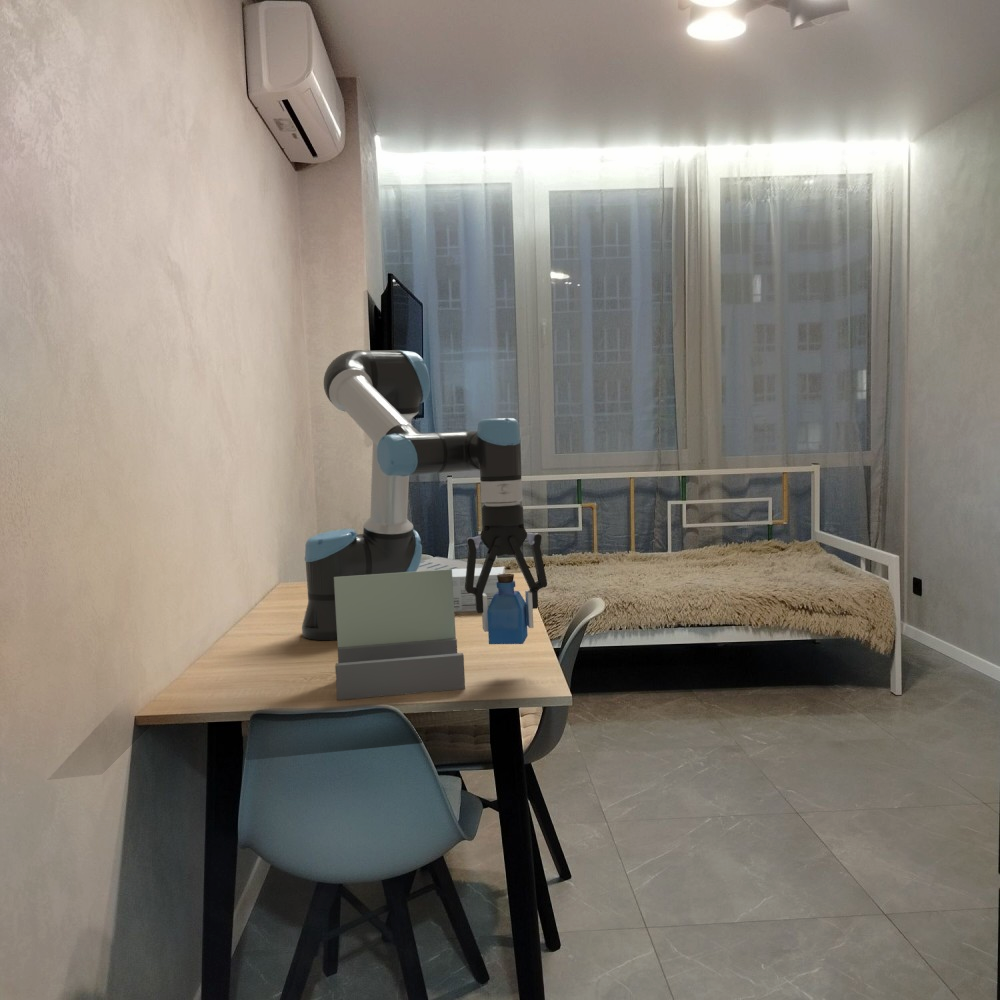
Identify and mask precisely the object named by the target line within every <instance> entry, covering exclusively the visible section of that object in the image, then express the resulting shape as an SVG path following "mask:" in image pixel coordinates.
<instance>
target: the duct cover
mask: <svg viewBox="0 0 1000 1000" xmlns="http://www.w3.org/2000/svg"><path fill="white" fill-rule="evenodd" d="M334 589H335V607H336V624H337V648H338V647H351V646H363V645H376V644H388V643H401V642H413V641H426V640H438V639H450V638H456V639H457V637H456V636H457V633H456V620H455V619H456V617H455V612H454V597H453V580H452V569H445V570H430V571H415V572H401V573H386V574H371V575H357V576H342V577H334Z"/></svg>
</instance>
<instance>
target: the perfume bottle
mask: <svg viewBox="0 0 1000 1000" xmlns="http://www.w3.org/2000/svg"><path fill="white" fill-rule="evenodd" d="M514 577H515V574H514V573H505V574H499V575H497V578H498V581H497V582H496V584H497V588H498V591H497V592H496V593H495V595H494V596H493V598H492V601H491V603H490V605H489V607H488V610H487V616H488V632H487V634H488V635H487V636H488V644H489V645H524V643H525V641H526V639H527V638H528V626H527V619H526V599H525V598H524V597H523V596H522V594H521V592H520V590H515V588H516V580H514Z"/></svg>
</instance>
